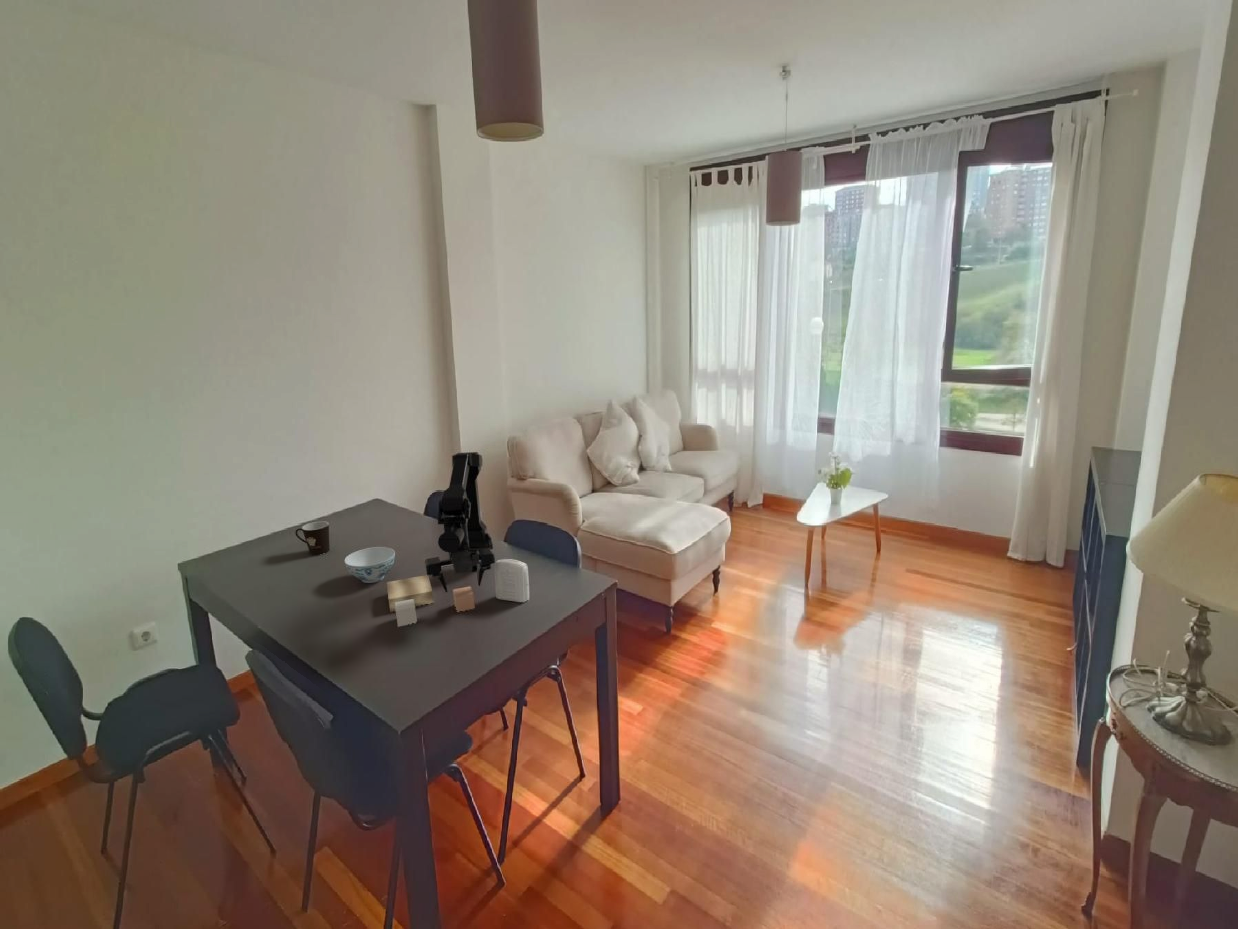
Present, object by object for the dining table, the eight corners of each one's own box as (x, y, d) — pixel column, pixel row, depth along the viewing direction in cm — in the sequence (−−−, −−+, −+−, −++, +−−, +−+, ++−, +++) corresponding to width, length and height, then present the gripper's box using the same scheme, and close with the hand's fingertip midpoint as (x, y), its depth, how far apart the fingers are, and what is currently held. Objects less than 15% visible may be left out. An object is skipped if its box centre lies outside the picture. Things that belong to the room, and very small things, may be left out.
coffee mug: (338, 550, 220) (333, 523, 218) (315, 558, 213) (310, 531, 211) (319, 543, 226) (314, 518, 224) (296, 552, 219) (291, 525, 217)
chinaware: (385, 564, 207) (382, 543, 205) (406, 577, 197) (403, 555, 195) (340, 579, 197) (336, 556, 195) (359, 593, 187) (355, 570, 185)
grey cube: (415, 614, 174) (413, 598, 172) (417, 623, 169) (414, 606, 168) (396, 618, 172) (394, 602, 170) (397, 627, 167) (395, 610, 166)
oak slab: (429, 586, 190) (427, 574, 189) (433, 603, 179) (432, 591, 178) (388, 594, 186) (386, 582, 185) (390, 612, 175) (388, 599, 174)
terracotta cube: (472, 601, 180) (470, 586, 179) (474, 609, 176) (473, 593, 174) (454, 605, 178) (452, 589, 177) (457, 613, 174) (455, 597, 173)
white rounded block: (532, 597, 182) (529, 558, 178) (525, 604, 178) (522, 564, 174) (501, 593, 185) (497, 555, 181) (494, 599, 181) (490, 561, 178)
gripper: (425, 554, 161) (432, 608, 165) (496, 542, 168) (501, 594, 172) (421, 539, 171) (428, 590, 175) (488, 528, 178) (493, 578, 182)
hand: (462, 588), depth 176 cm, fingers open, 9 cm apart
